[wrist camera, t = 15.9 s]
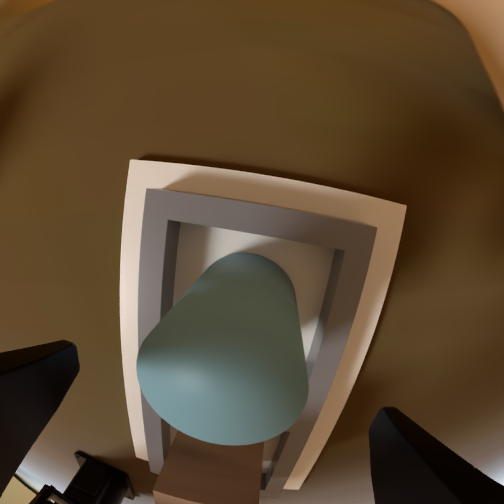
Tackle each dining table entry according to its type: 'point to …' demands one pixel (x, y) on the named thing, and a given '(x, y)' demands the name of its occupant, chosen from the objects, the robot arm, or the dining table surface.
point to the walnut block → (209, 473)
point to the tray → (276, 249)
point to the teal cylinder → (229, 355)
